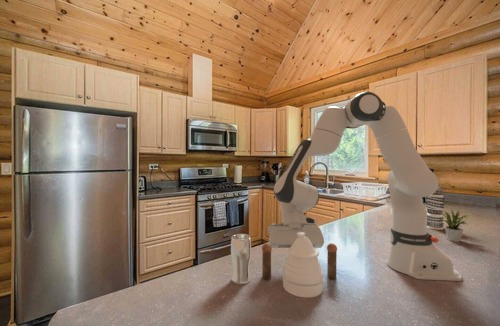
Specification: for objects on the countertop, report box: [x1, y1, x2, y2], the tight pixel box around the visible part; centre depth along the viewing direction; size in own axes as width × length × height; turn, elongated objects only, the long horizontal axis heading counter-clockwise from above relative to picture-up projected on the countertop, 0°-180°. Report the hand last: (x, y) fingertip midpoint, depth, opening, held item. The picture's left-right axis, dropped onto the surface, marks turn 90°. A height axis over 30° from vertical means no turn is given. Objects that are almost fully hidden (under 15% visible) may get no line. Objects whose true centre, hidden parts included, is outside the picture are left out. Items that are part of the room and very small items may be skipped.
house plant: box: [440, 208, 470, 243], centre depth 121 cm, size 14×14×16 cm
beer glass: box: [230, 233, 252, 285], centre depth 81 cm, size 7×7×15 cm
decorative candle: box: [425, 186, 445, 231], centre depth 144 cm, size 9×9×25 cm
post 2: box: [326, 242, 338, 280], centre depth 83 cm, size 3×3×12 cm
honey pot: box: [282, 232, 324, 298], centre depth 77 cm, size 13×13×18 cm
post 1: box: [261, 243, 273, 281], centre depth 83 cm, size 3×3×12 cm
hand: (298, 258), depth 84 cm, fingers closed, pressing on honey pot
